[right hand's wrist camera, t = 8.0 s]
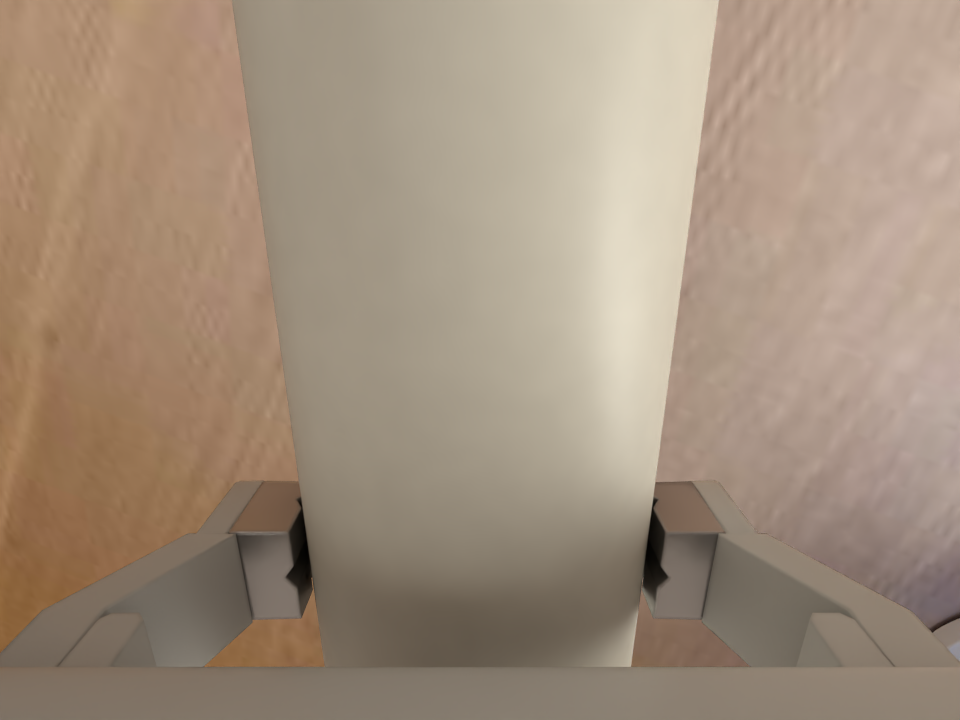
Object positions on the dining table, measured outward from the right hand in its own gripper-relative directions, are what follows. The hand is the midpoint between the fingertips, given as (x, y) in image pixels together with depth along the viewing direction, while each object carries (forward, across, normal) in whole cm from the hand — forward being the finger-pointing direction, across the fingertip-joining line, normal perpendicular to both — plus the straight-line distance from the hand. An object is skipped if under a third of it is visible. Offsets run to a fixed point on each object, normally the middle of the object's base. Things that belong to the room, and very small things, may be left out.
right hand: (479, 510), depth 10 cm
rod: (+3, 0, +10) cm, 11 cm away
